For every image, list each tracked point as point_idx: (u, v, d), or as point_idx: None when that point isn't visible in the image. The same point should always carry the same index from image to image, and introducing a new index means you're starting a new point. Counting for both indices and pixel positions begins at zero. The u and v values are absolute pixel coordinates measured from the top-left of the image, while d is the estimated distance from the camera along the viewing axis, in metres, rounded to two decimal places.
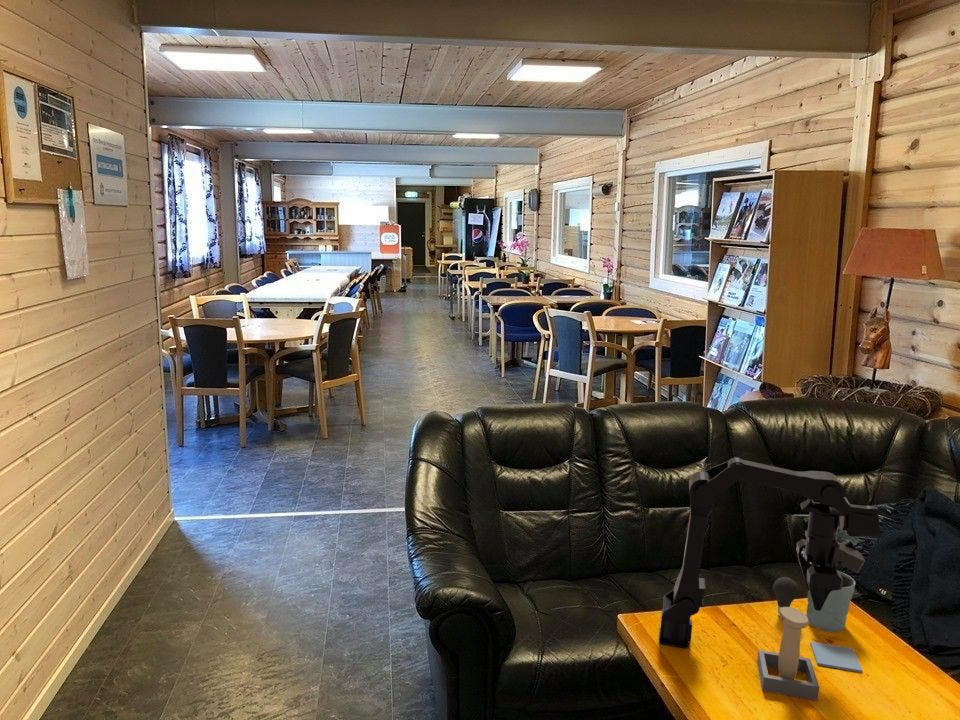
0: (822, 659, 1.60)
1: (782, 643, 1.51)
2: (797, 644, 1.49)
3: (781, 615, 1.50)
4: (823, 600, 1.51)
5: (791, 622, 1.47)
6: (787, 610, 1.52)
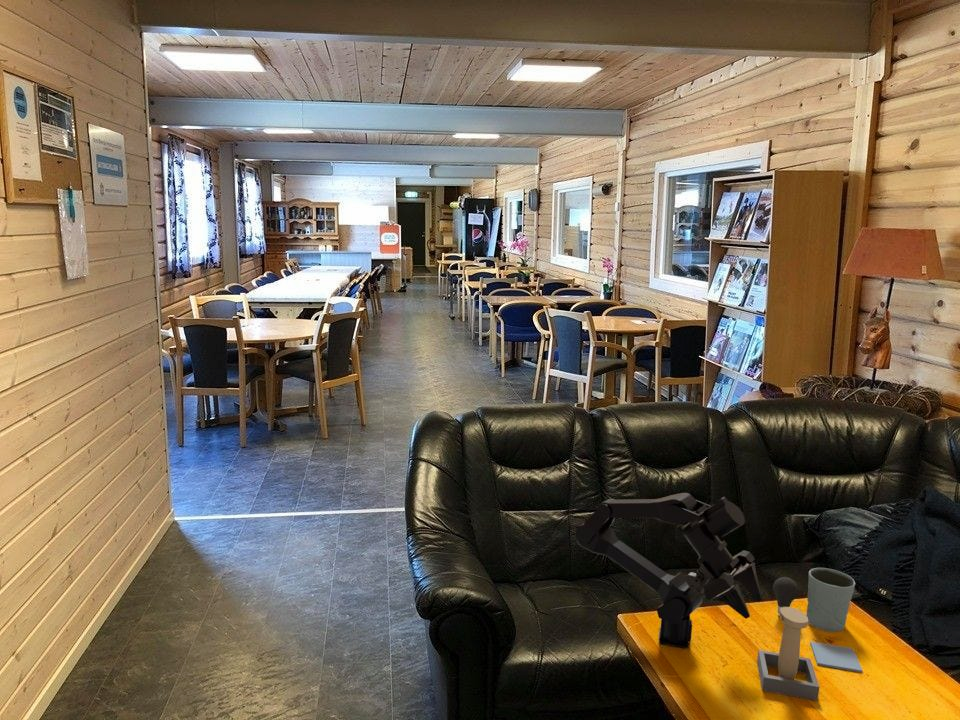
0: (822, 659, 1.60)
1: (782, 643, 1.51)
2: (797, 644, 1.49)
3: (781, 615, 1.50)
4: None
5: (791, 622, 1.47)
6: (787, 610, 1.52)
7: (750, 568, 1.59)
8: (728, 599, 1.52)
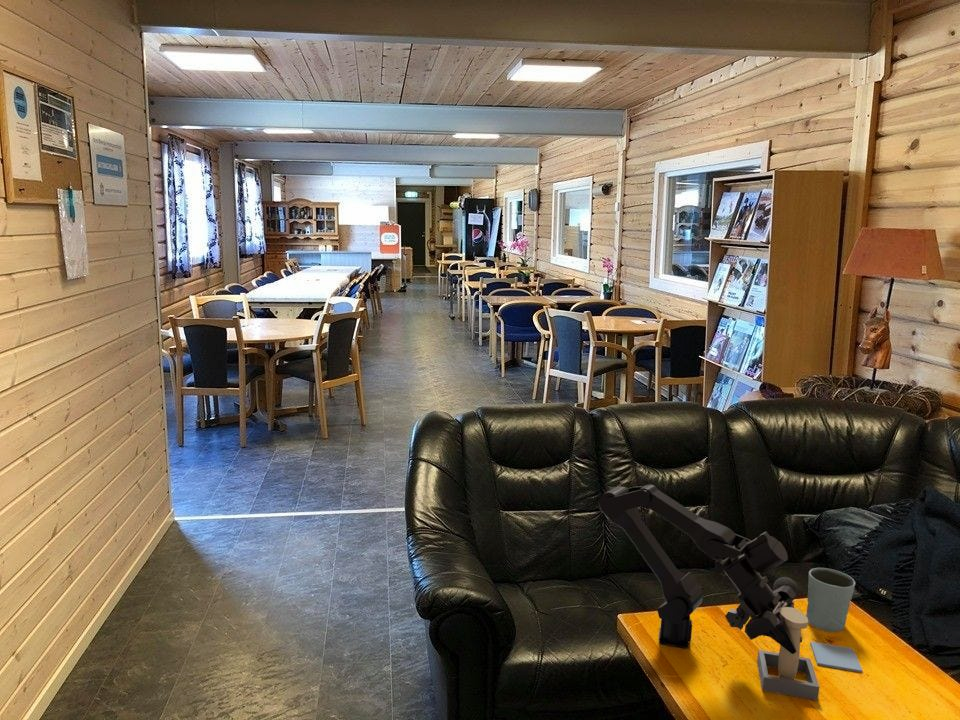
0: (822, 659, 1.60)
1: None
2: (797, 644, 1.49)
3: (781, 615, 1.50)
4: None
5: (791, 622, 1.47)
6: (787, 610, 1.51)
7: None
8: (774, 634, 1.49)
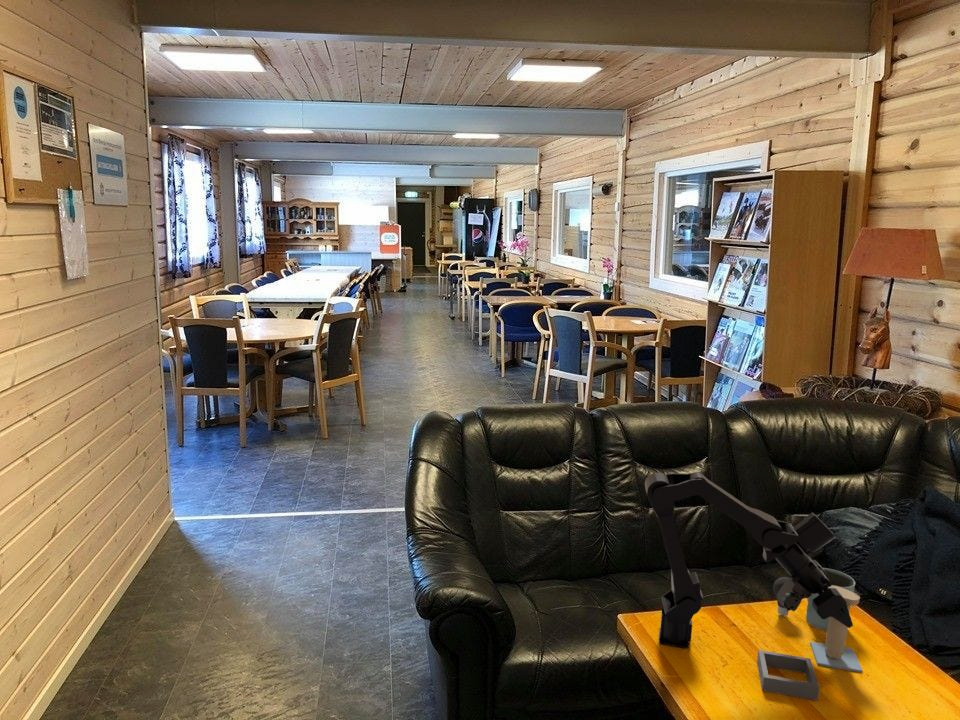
0: (822, 659, 1.60)
1: (835, 622, 1.59)
2: None
3: None
4: None
5: (850, 600, 1.56)
6: None
7: (826, 576, 1.64)
8: (835, 613, 1.54)
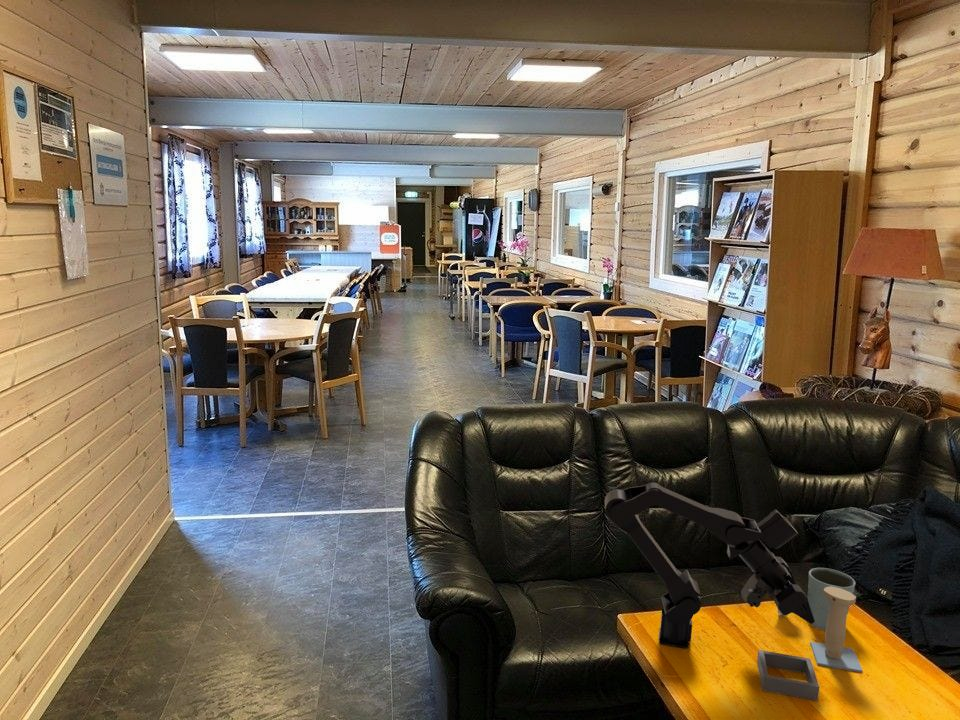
0: (822, 659, 1.60)
1: (832, 622, 1.59)
2: (845, 619, 1.59)
3: (831, 597, 1.58)
4: None
5: (846, 601, 1.56)
6: (830, 590, 1.60)
7: (790, 573, 1.65)
8: (796, 609, 1.55)
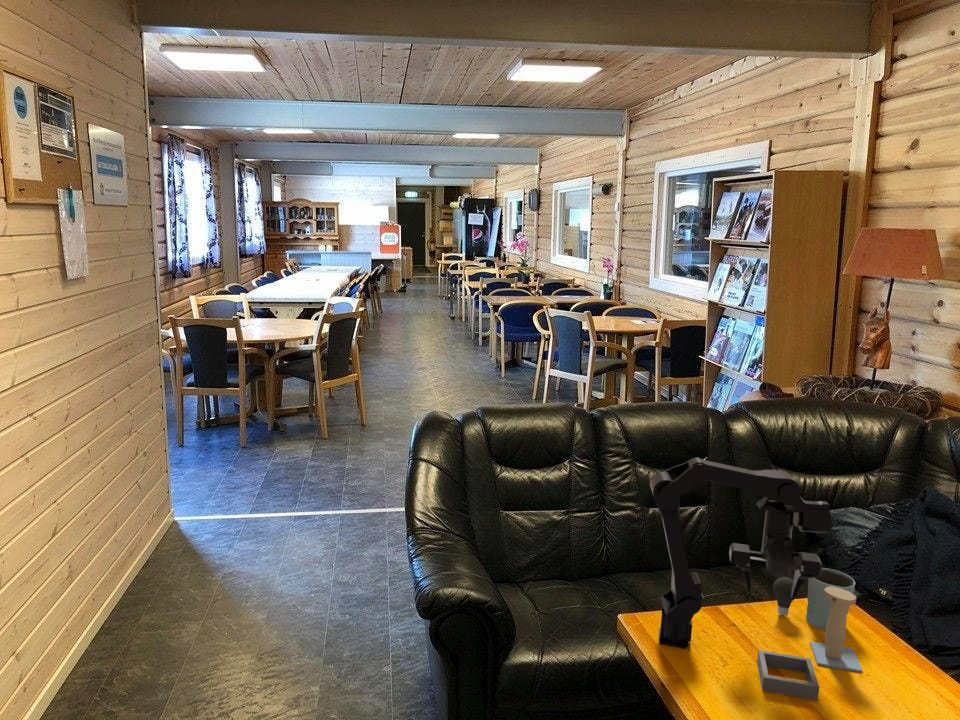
0: (822, 659, 1.60)
1: (832, 622, 1.59)
2: None
3: (832, 597, 1.58)
4: None
5: (846, 601, 1.56)
6: (831, 590, 1.60)
7: None
8: None
